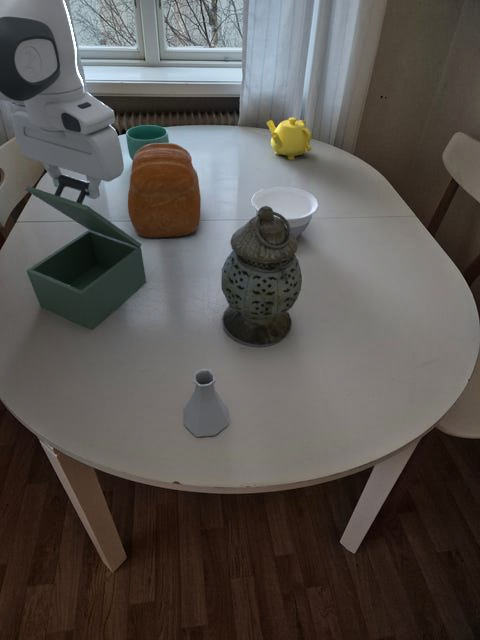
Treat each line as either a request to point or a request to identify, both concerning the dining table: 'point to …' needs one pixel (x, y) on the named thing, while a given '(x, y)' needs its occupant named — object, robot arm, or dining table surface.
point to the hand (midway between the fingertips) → (77, 192)
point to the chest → (88, 278)
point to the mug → (145, 137)
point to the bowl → (288, 205)
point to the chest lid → (81, 209)
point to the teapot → (290, 137)
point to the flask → (205, 407)
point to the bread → (163, 191)
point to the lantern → (261, 280)
